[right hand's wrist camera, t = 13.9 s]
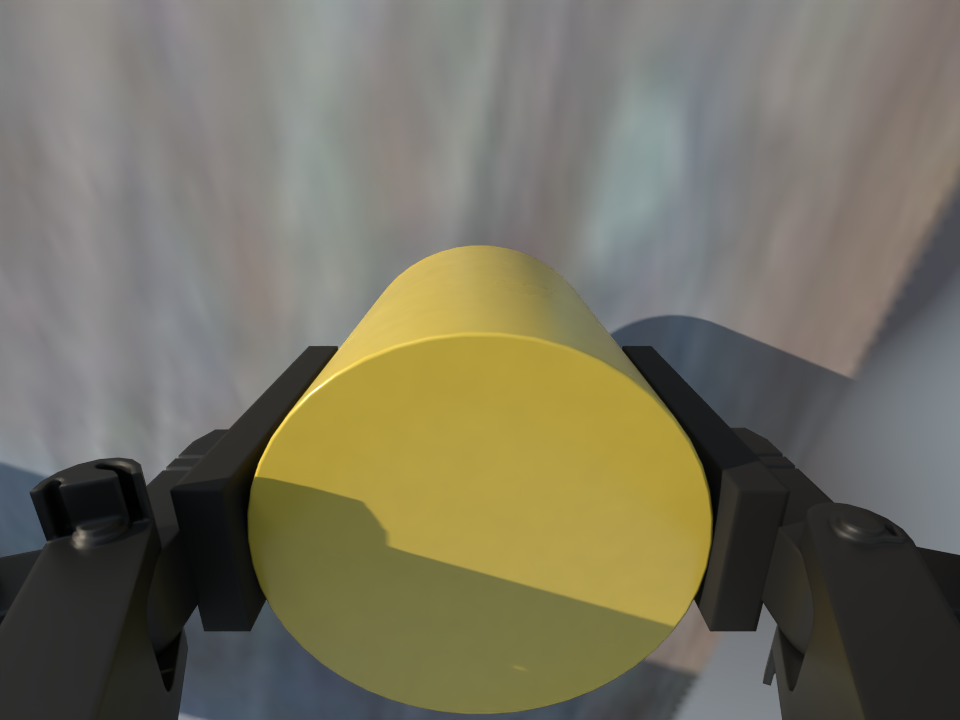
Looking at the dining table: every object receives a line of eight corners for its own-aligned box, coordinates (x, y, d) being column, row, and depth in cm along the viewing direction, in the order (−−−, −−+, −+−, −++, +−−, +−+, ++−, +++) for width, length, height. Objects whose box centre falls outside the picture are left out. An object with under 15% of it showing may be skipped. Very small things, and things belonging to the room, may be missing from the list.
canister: (545, 491, 18) (599, 753, 10) (337, 428, 17) (211, 659, 9) (637, 293, 16) (806, 427, 8) (399, 208, 15) (302, 257, 7)
